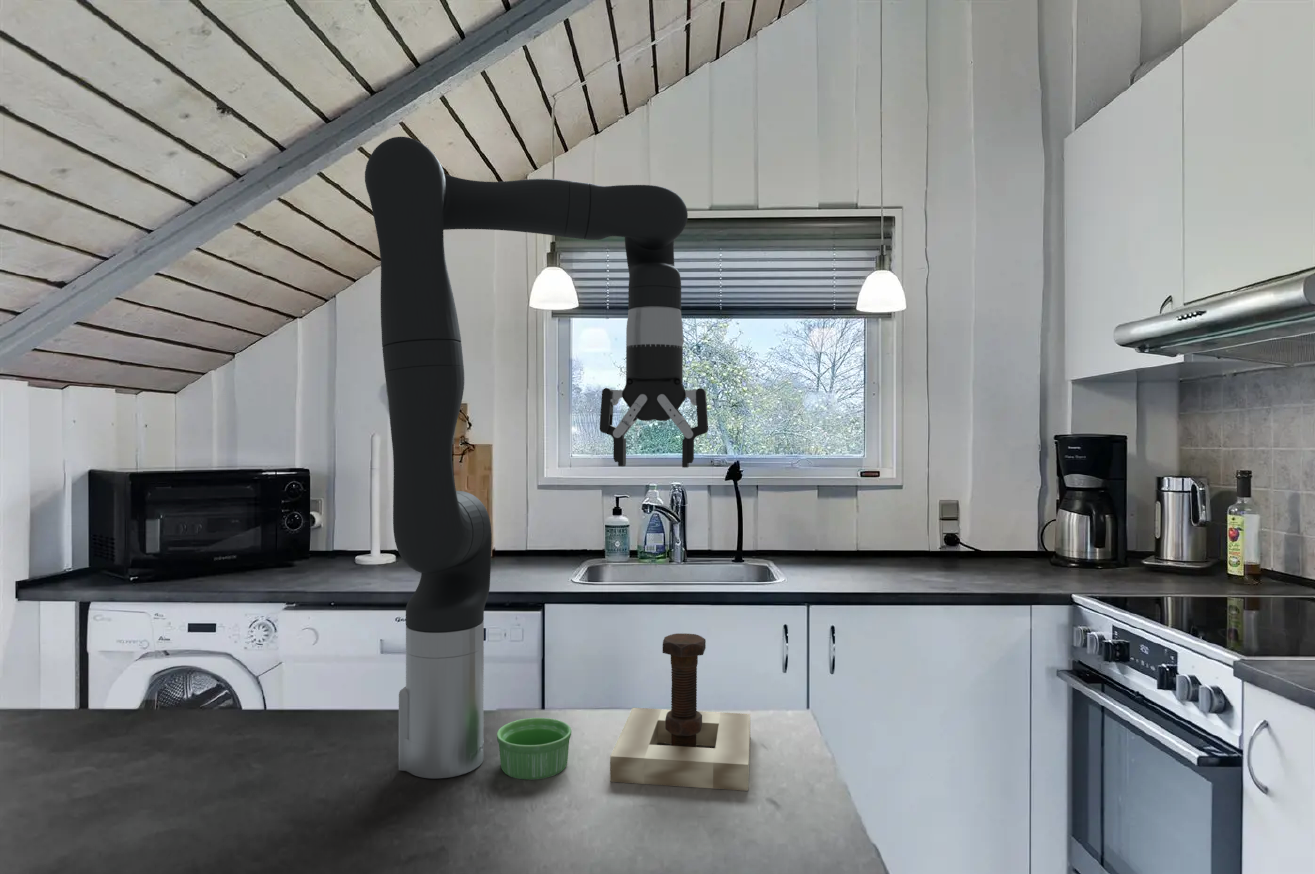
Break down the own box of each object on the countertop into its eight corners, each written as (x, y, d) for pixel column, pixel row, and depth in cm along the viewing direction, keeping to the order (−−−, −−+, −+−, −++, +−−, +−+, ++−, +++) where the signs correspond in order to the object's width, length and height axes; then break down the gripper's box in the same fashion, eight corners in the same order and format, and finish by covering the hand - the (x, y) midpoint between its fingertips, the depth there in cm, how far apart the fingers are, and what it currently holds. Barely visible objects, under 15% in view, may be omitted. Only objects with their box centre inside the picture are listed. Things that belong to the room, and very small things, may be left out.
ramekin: (492, 756, 99) (492, 721, 99) (563, 747, 102) (563, 713, 102) (501, 787, 91) (501, 749, 91) (578, 777, 94) (578, 740, 94)
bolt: (701, 768, 96) (701, 645, 96) (660, 765, 97) (660, 643, 96) (706, 749, 102) (706, 633, 101) (667, 746, 102) (667, 631, 102)
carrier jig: (610, 781, 92) (610, 755, 92) (632, 729, 108) (632, 707, 108) (748, 790, 90) (748, 764, 90) (750, 736, 106) (750, 713, 106)
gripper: (596, 342, 102) (595, 467, 102) (706, 341, 100) (705, 469, 101) (607, 347, 110) (606, 464, 110) (710, 347, 108) (709, 466, 108)
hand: (653, 466), depth 105 cm, fingers open, 8 cm apart
